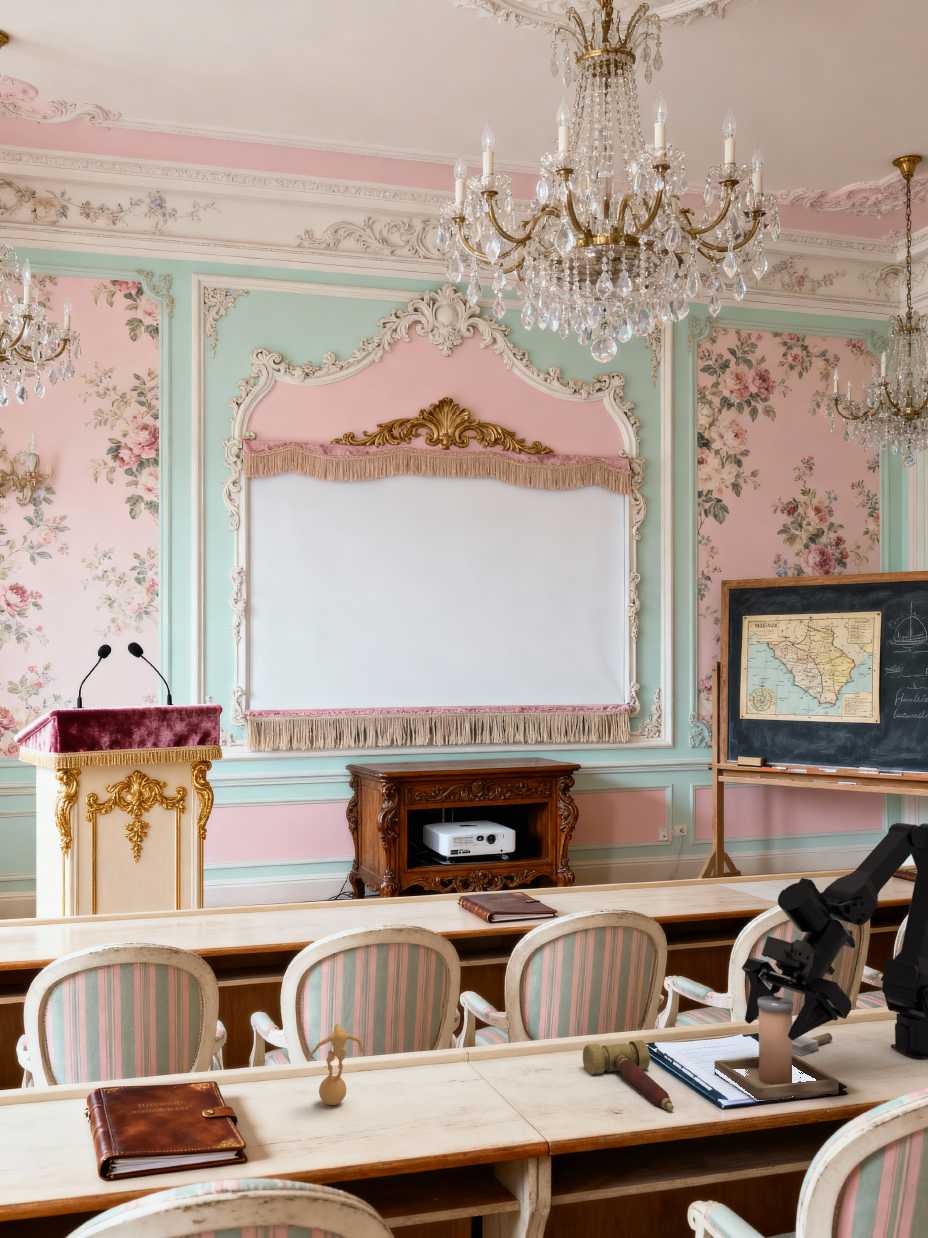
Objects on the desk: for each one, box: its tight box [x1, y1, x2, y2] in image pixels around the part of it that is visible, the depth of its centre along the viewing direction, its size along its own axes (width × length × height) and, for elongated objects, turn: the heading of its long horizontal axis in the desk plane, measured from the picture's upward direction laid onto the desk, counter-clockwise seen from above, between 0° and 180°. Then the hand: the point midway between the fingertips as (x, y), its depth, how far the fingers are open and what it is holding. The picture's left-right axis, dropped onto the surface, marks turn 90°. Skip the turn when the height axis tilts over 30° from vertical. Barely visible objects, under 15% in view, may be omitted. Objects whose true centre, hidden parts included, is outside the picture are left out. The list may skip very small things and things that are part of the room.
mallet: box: [792, 1032, 833, 1057], centre depth 182 cm, size 11×4×2 cm, turn 127°
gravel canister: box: [758, 995, 794, 1085], centre depth 164 cm, size 5×5×12 cm
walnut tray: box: [714, 1054, 839, 1101], centre depth 164 cm, size 14×13×2 cm
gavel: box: [582, 1039, 675, 1112], centre depth 161 cm, size 21×5×10 cm
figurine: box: [308, 1023, 365, 1106], centre depth 152 cm, size 8×6×12 cm
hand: (767, 1030), depth 164 cm, fingers open, 9 cm apart
